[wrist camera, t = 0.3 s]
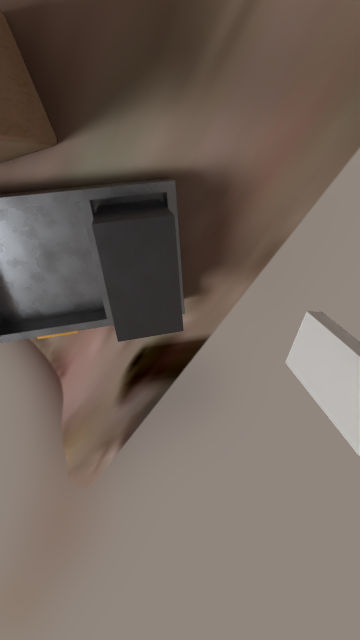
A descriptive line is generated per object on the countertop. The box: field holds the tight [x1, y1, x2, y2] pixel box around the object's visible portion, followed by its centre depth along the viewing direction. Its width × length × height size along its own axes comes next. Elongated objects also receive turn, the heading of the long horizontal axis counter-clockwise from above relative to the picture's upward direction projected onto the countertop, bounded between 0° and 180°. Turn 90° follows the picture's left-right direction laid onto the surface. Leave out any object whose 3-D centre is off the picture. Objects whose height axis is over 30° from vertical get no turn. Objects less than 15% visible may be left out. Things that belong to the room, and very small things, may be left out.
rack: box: [0, 178, 185, 343], centre depth 31 cm, size 17×24×11 cm
